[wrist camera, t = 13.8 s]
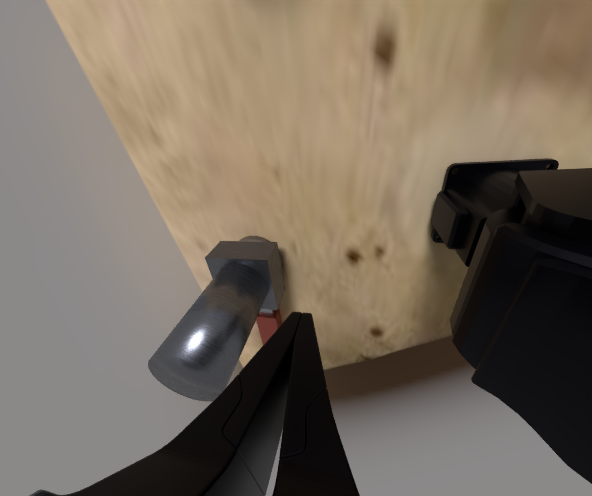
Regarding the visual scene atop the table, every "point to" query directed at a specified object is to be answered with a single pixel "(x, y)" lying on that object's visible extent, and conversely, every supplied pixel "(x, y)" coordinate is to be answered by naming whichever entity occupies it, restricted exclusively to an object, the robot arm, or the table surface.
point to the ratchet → (266, 317)
